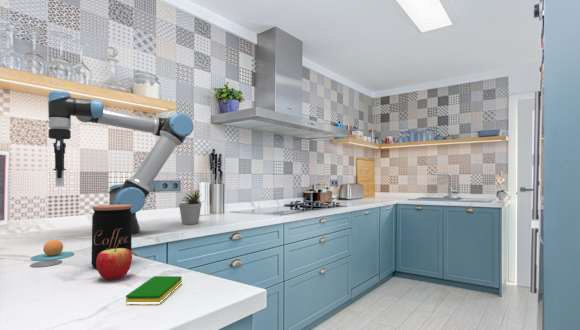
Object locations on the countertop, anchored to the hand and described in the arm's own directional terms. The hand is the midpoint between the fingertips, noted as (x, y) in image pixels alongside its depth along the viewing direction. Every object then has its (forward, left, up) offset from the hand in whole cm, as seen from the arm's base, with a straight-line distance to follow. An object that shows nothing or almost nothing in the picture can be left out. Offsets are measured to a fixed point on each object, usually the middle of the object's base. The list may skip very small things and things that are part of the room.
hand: (59, 186), depth 135 cm
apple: (-30, +61, -24) cm, 72 cm away
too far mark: (-7, +37, -23) cm, 44 cm away
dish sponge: (-41, +77, -24) cm, 90 cm away
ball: (-6, +25, -21) cm, 33 cm away
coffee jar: (-27, +46, -24) cm, 58 cm away
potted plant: (-54, -40, -24) cm, 71 cm away
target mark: (-6, +26, -23) cm, 35 cm away
